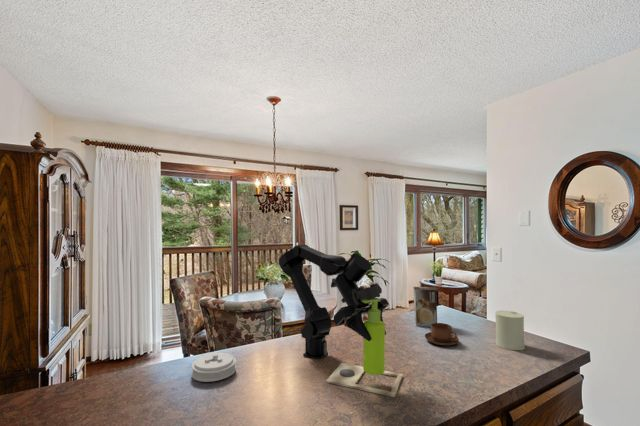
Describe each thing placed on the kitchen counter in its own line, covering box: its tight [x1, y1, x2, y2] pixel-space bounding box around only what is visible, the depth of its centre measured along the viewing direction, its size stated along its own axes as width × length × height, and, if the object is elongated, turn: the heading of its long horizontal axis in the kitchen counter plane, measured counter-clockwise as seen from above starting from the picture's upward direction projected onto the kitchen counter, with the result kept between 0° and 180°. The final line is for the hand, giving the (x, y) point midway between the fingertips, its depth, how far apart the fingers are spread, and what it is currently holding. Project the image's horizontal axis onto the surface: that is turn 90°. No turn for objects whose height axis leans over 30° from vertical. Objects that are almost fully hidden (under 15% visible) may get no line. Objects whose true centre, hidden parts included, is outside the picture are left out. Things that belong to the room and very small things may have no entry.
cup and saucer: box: [424, 322, 460, 347], centre depth 121 cm, size 12×12×6 cm
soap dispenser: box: [362, 297, 386, 376], centre depth 90 cm, size 6×7×20 cm
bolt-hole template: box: [326, 362, 404, 398], centre depth 92 cm, size 19×12×1 cm, turn 66°
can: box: [494, 310, 526, 351], centre depth 118 cm, size 9×9×12 cm
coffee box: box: [413, 286, 438, 327], centre depth 142 cm, size 9×6×16 cm
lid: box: [191, 352, 237, 383], centre depth 96 cm, size 13×13×5 cm
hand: (377, 337), depth 89 cm, fingers closed on soap dispenser, 6 cm apart
